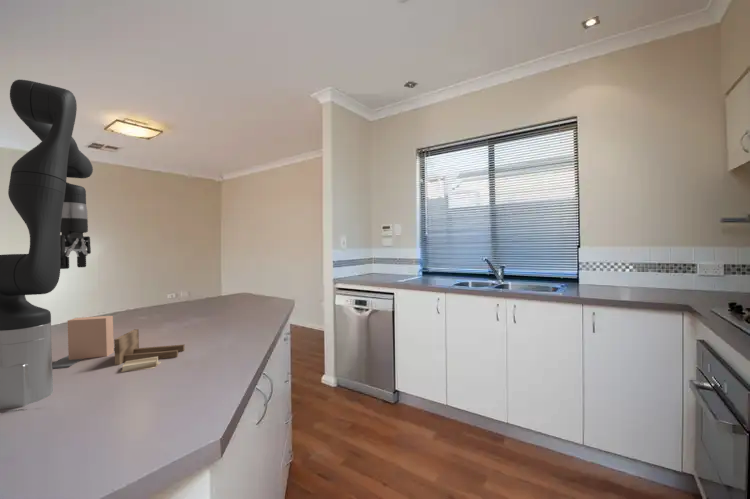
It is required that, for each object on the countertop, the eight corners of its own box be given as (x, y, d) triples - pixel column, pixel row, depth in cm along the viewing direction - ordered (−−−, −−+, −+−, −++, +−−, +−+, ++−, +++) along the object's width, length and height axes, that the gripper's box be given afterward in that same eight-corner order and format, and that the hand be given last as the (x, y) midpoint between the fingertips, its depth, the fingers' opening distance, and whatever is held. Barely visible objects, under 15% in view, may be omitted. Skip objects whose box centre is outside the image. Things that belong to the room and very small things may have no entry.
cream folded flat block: (154, 373, 91) (153, 368, 91) (120, 376, 89) (120, 371, 89) (161, 367, 96) (160, 362, 96) (129, 370, 94) (129, 365, 94)
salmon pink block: (106, 356, 102) (105, 318, 102) (68, 359, 100) (67, 320, 100) (113, 352, 106) (112, 315, 106) (77, 355, 104) (76, 317, 104)
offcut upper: (156, 366, 92) (156, 361, 92) (122, 371, 89) (122, 366, 89) (158, 361, 96) (157, 356, 96) (126, 366, 93) (125, 361, 93)
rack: (174, 362, 98) (173, 335, 98) (115, 367, 94) (114, 339, 94) (187, 349, 110) (186, 325, 110) (134, 354, 106) (134, 329, 106)
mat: (107, 363, 97) (107, 362, 97) (42, 369, 94) (41, 367, 94) (133, 347, 113) (133, 346, 113) (78, 352, 109) (78, 350, 109)
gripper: (71, 215, 100) (72, 269, 100) (98, 219, 114) (99, 266, 114) (41, 215, 98) (43, 269, 98) (72, 219, 112) (74, 267, 112)
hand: (73, 268), depth 106 cm, fingers open, 8 cm apart
